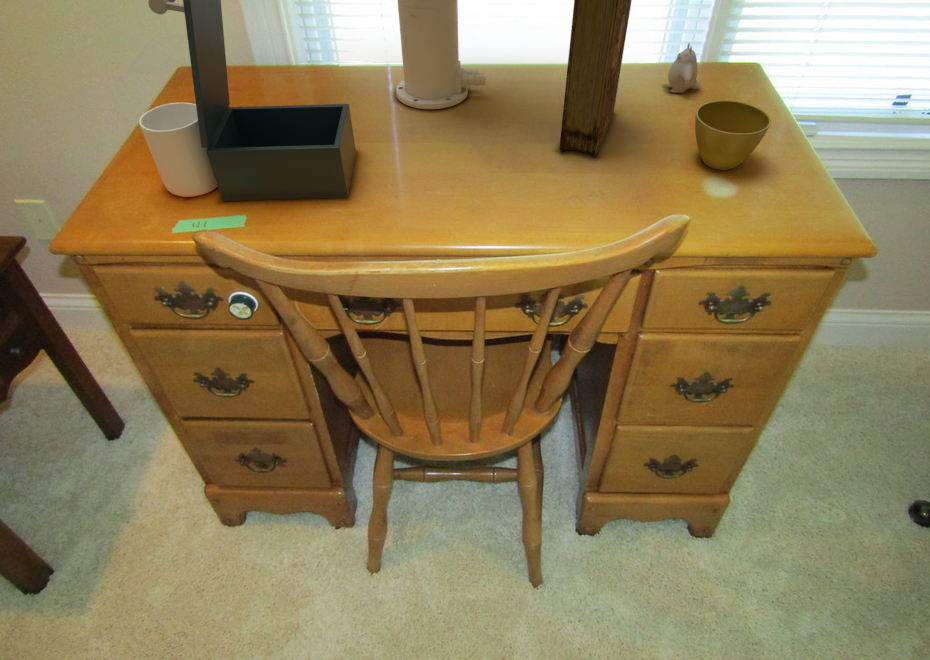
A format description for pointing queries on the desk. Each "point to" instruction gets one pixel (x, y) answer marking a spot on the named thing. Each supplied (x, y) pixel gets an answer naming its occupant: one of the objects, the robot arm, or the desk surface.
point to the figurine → (684, 72)
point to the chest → (283, 152)
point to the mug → (178, 149)
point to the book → (593, 72)
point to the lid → (204, 60)
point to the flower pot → (729, 132)
